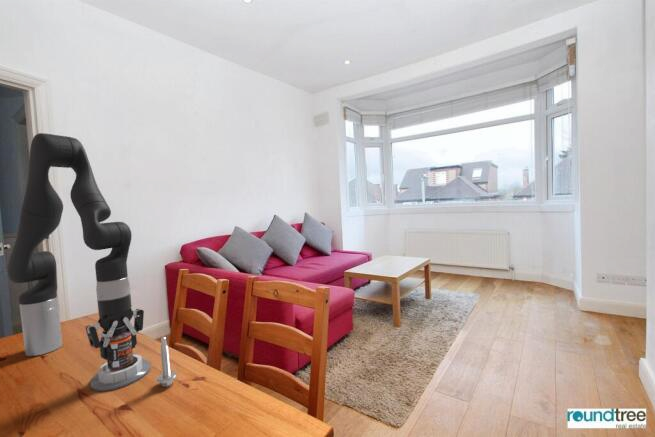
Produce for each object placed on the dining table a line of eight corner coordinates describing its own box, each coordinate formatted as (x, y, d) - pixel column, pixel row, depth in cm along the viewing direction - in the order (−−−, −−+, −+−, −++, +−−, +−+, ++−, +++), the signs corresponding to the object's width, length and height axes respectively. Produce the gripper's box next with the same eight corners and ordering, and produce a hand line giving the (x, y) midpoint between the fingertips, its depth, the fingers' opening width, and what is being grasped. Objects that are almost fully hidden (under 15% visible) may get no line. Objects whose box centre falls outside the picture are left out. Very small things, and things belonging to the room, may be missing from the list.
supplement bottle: (120, 372, 81) (116, 331, 80) (102, 370, 82) (98, 330, 82) (138, 360, 87) (135, 322, 86) (121, 359, 88) (117, 321, 87)
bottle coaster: (80, 382, 82) (78, 371, 82) (133, 357, 94) (132, 347, 94) (107, 397, 75) (106, 384, 75) (161, 368, 88) (160, 357, 87)
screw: (164, 378, 82) (181, 378, 82) (152, 389, 78) (170, 389, 77) (160, 332, 81) (177, 332, 81) (148, 340, 77) (166, 340, 76)
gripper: (133, 285, 91) (138, 339, 93) (76, 301, 79) (82, 363, 80) (148, 288, 88) (153, 344, 89) (90, 305, 75) (97, 369, 76)
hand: (119, 353), depth 84 cm, fingers closed on supplement bottle, 6 cm apart
